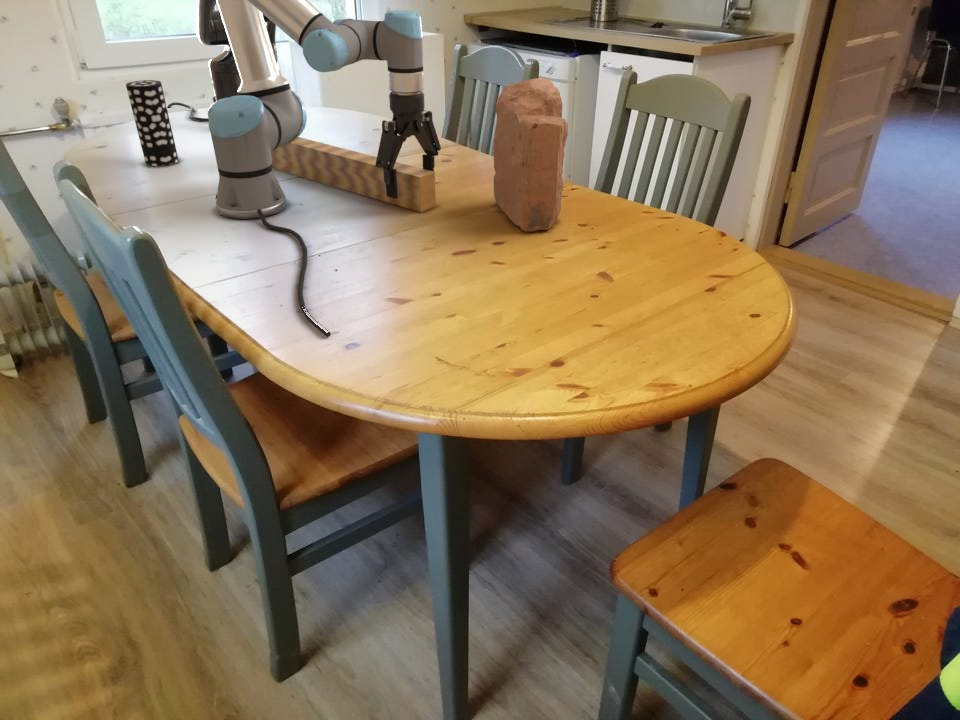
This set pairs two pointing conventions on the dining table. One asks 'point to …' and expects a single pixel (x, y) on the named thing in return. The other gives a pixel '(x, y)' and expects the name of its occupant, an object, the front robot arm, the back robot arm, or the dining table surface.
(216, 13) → the back robot arm
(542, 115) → the stone
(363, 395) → the dining table surface
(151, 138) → the black white spotted cylinder
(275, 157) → the beam
